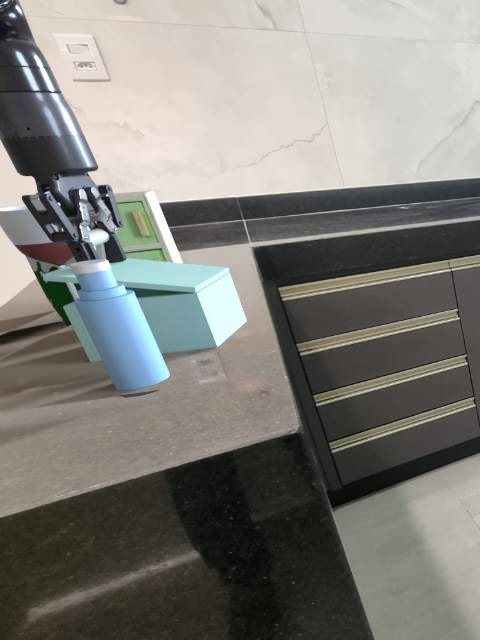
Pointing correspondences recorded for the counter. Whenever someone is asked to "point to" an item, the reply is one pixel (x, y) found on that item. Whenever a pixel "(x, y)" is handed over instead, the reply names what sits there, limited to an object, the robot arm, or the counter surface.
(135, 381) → the water bottle
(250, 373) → the counter surface
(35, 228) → the wineglass
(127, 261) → the lid
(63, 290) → the milk carton
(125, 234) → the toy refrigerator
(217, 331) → the box
